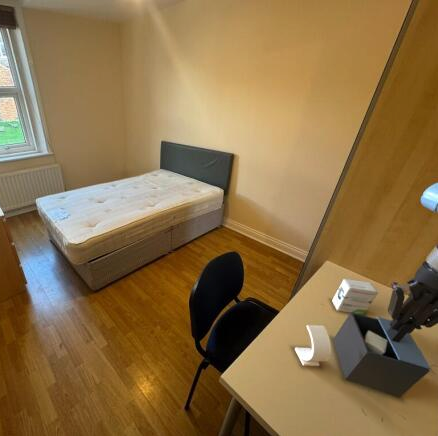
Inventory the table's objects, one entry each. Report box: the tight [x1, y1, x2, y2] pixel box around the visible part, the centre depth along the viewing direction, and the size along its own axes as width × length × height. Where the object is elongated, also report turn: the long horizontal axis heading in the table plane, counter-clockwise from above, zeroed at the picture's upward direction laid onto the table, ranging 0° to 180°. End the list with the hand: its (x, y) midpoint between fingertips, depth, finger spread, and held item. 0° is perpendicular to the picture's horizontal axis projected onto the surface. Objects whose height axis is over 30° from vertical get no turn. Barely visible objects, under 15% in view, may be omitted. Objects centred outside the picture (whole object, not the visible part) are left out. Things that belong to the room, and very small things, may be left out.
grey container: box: [333, 312, 431, 399], centre depth 65 cm, size 12×13×14 cm
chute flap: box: [376, 316, 432, 370], centre depth 61 cm, size 6×13×1 cm, turn 158°
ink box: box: [331, 278, 379, 316], centre depth 83 cm, size 9×5×12 cm, turn 75°
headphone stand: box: [294, 324, 332, 367], centre depth 68 cm, size 5×6×12 cm
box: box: [363, 331, 388, 355], centre depth 66 cm, size 5×4×11 cm
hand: (392, 336), depth 61 cm, fingers closed
